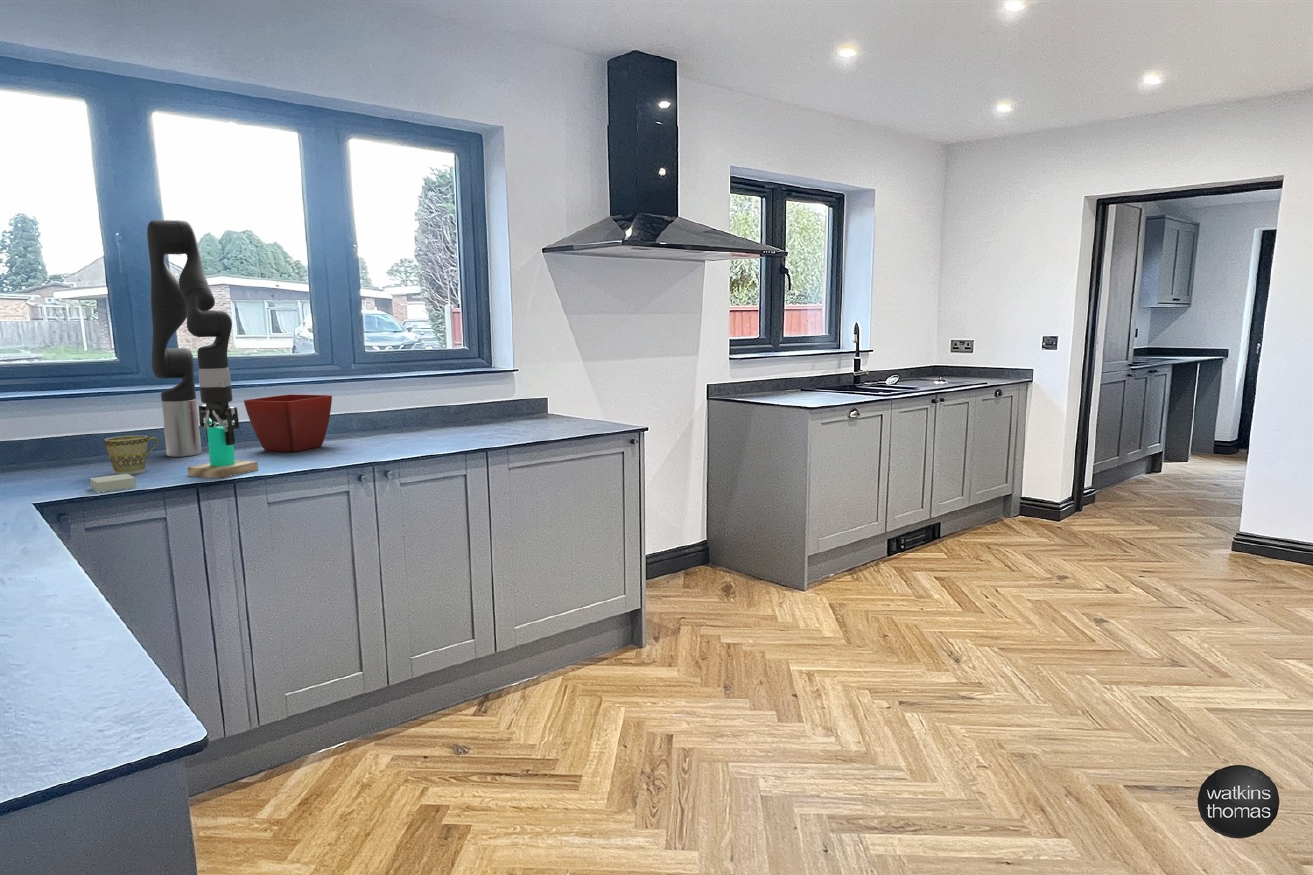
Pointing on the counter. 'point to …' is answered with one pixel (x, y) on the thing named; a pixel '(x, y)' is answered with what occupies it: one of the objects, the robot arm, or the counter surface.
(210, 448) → the candle
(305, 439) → the plant pot
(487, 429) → the counter surface
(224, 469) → the oak block
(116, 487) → the sage block
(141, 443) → the ceramic cup
